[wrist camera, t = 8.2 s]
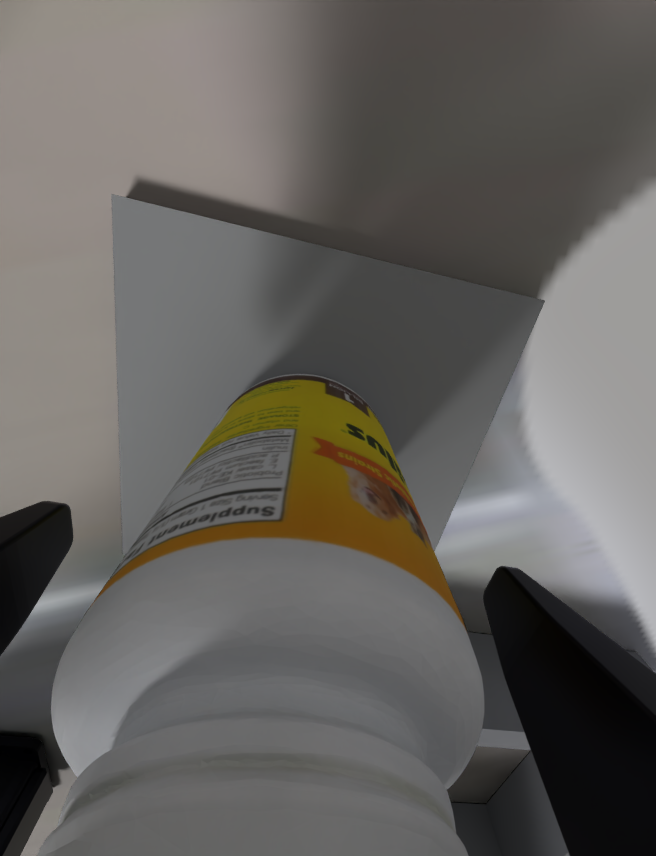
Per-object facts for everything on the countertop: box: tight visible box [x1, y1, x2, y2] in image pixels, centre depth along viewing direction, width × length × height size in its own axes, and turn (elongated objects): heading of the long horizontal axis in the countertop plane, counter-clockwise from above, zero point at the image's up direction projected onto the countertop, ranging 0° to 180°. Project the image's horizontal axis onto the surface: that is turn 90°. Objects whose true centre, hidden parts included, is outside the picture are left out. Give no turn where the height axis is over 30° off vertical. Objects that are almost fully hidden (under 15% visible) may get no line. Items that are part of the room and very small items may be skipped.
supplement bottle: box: [37, 374, 484, 856], centre depth 7 cm, size 6×6×10 cm
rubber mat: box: [112, 194, 545, 555], centre depth 12 cm, size 12×12×1 cm
